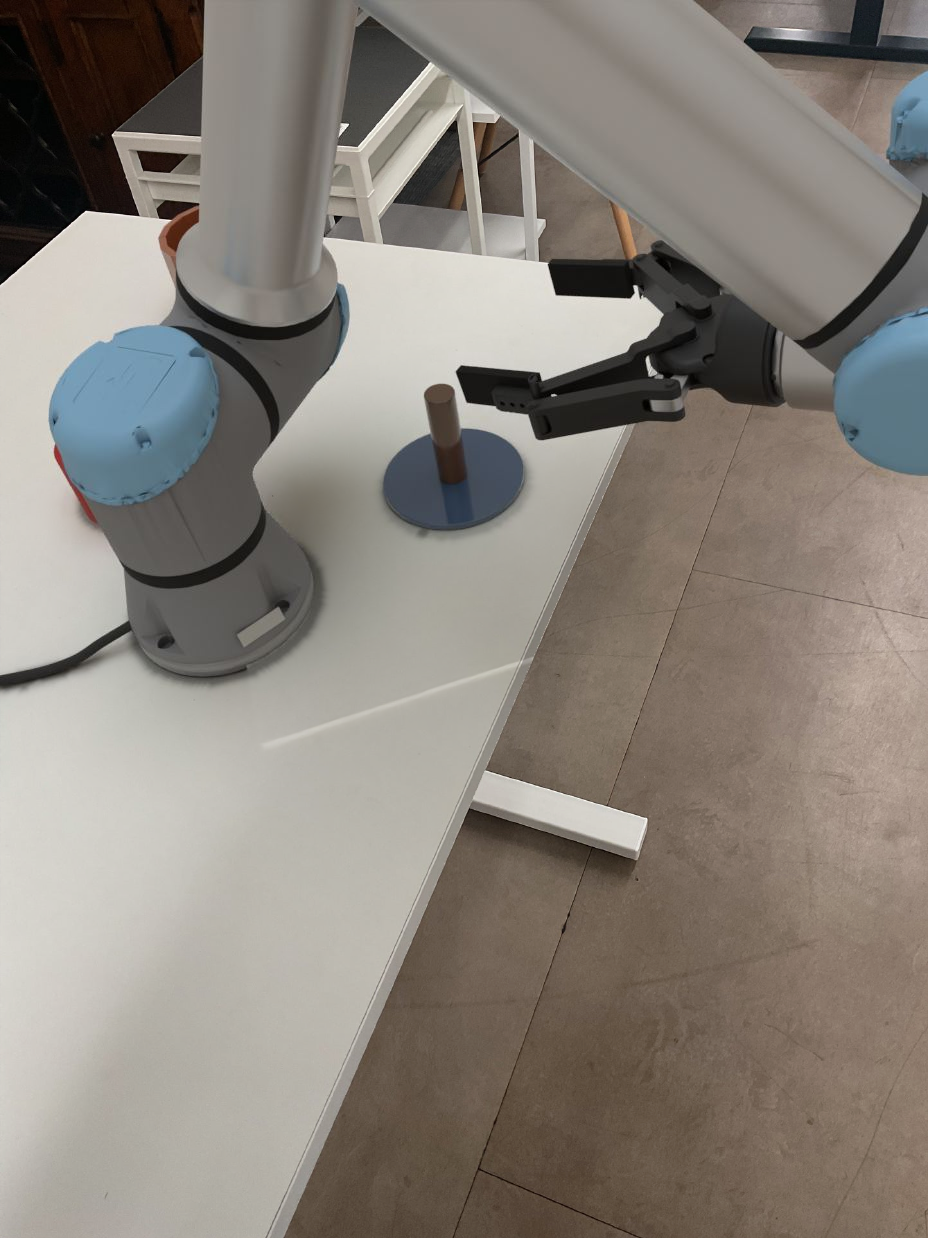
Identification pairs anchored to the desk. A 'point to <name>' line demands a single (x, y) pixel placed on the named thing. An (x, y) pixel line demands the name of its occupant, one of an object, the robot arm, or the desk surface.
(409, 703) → the desk surface
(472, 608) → the desk surface
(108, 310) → the desk surface
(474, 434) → the lid
